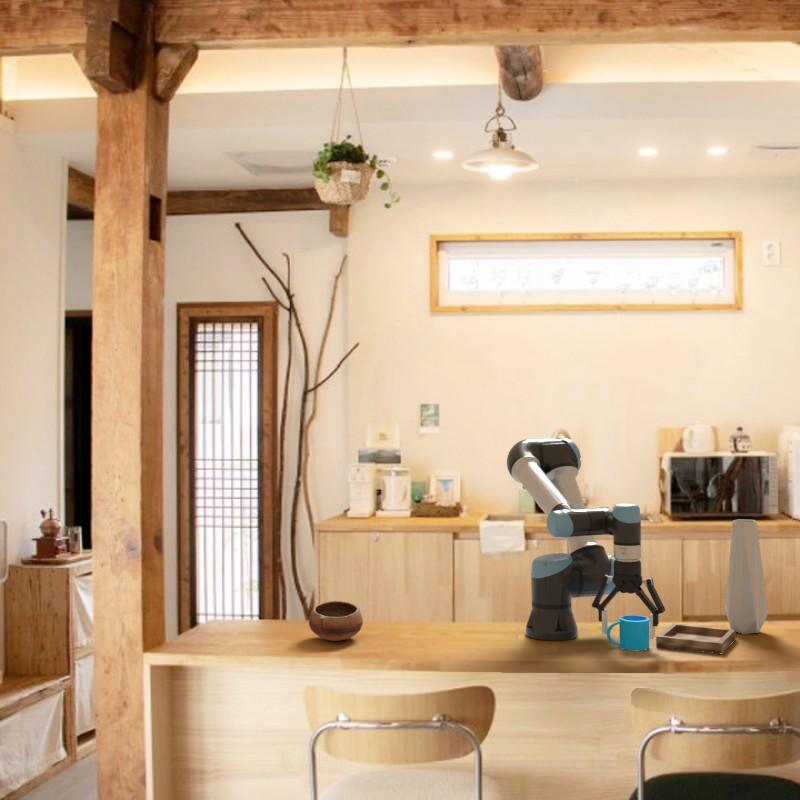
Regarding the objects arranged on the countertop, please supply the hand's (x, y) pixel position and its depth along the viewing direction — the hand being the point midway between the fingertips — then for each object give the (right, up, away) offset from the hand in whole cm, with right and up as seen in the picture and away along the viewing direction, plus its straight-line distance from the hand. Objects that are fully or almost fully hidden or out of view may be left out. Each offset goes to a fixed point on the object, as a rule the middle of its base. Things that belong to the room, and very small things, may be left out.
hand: (628, 635), depth 296 cm
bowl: (-82, -4, +13) cm, 84 cm away
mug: (0, -4, +1) cm, 4 cm away
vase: (+39, -3, +18) cm, 43 cm away
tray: (+20, -3, +4) cm, 21 cm away
